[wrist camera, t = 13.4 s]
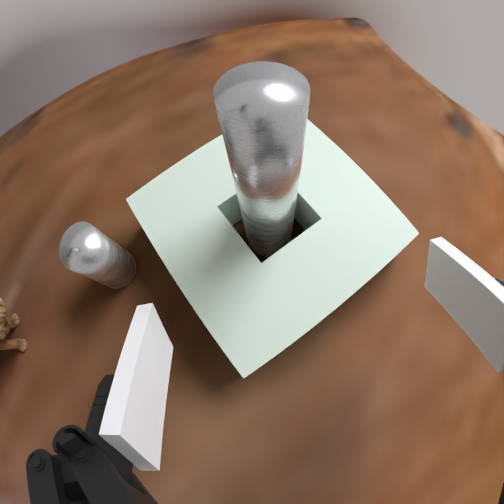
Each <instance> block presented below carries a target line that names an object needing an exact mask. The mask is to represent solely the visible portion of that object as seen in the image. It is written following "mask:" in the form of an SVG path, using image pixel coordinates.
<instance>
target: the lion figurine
mask: <svg viewBox="0 0 504 504" xmlns="http://www.w3.org/2000/svg"><path fill="white" fill-rule="evenodd" d="M6 311H7V309H6V306H5V304H4V303H3V300H2V299H1V298H0V350H6V349H7V350H10V349H18V350H20V351H22V352H24V351H26V349H27V342H26V340H25V339H20V338H17V339H11V340H10V339H6V338H5V336H6V335H7V334H8V332H9V331H10V329H9V328H14V327H16V326H17V325H18V324H19V317H18V315H17V314H15V313H13V314H12V316H11V318H8V317H7V315H6Z"/></svg>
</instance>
